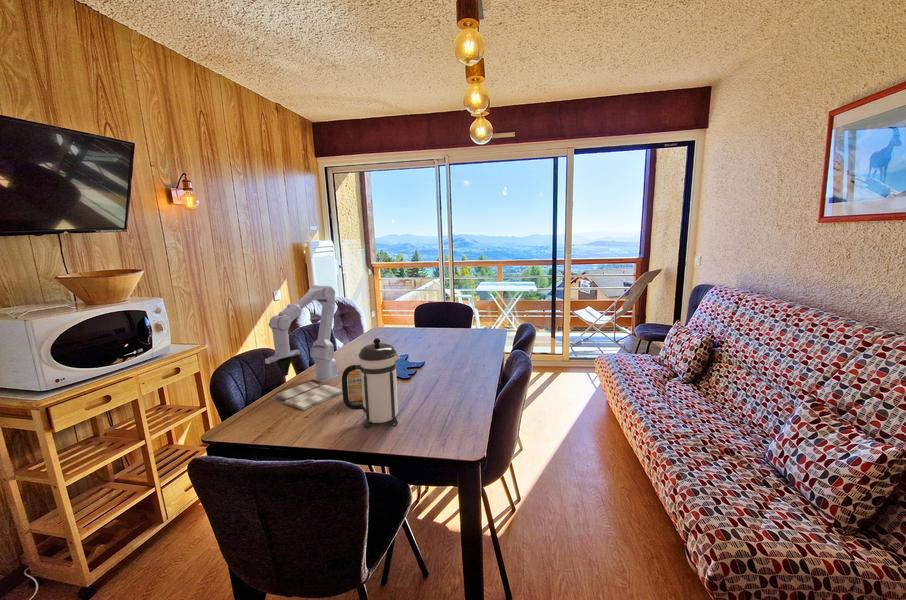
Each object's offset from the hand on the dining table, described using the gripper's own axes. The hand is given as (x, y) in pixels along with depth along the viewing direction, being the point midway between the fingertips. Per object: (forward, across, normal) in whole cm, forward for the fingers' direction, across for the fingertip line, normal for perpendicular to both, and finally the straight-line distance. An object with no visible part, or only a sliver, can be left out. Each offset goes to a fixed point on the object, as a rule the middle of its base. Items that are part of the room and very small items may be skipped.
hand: (285, 375), depth 153 cm
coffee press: (+9, -2, +50) cm, 51 cm away
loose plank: (+8, -3, +4) cm, 9 cm away
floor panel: (+9, -3, +10) cm, 14 cm away
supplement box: (+9, -12, +31) cm, 34 cm away
